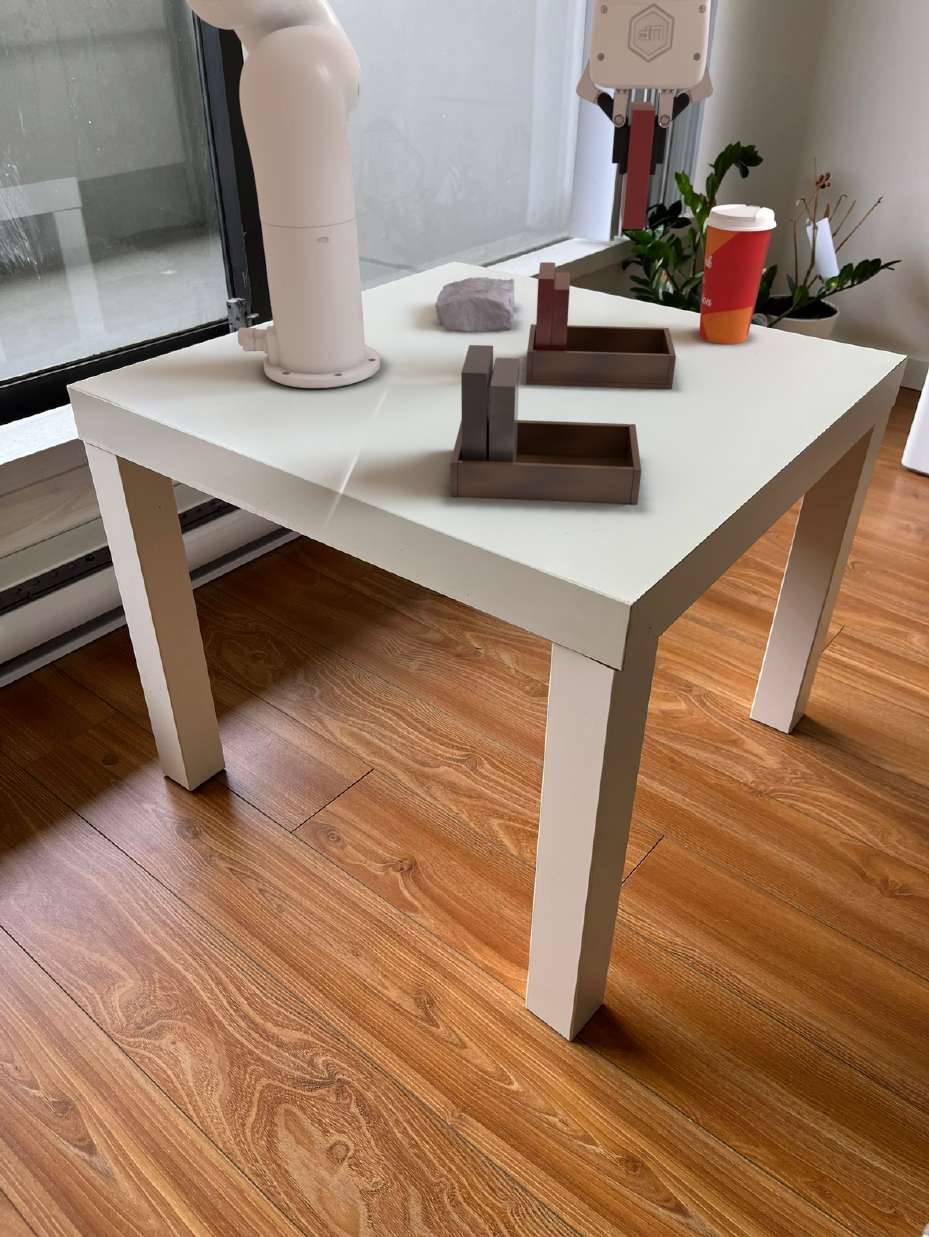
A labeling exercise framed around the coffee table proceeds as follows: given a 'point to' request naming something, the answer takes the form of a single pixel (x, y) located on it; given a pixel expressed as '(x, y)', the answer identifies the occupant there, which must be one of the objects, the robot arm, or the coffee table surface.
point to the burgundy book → (637, 165)
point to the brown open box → (592, 346)
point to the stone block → (477, 305)
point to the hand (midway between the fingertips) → (636, 171)
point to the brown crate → (534, 446)
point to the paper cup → (733, 270)
